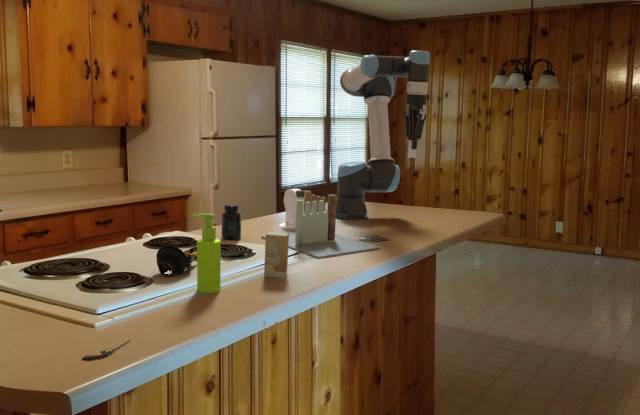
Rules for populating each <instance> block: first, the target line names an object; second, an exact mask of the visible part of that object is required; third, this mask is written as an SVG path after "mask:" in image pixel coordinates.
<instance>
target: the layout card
mask: <svg viewBox="0 0 640 415" xmlns="http://www.w3.org/2000/svg"><path fill="white" fill-rule="evenodd" d="M288 233H289V244H288V249H292V250H293V251H297V252H299V253H302V254H305V255H307V256H310V257H313V258H314V259H315V258H316V259H324V258H331V257H337V256H342V255H343V256H344V255H350V254H357V253H363V252H369V251H376V250H380V248H381V247H380V246H376V245H373V244H370V243H367V242H363V241H360V240H357V239H355V238H351V237H347V236H344V235H341V234H337V233H335V240H334V241H328V240H326V241H320V242H314V243H308V244H302V245H296V244H295V237H296V231H291V232H288ZM261 238H262V239H264V240H266V235H261Z"/></svg>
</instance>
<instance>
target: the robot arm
mask: <svg viewBox="0 0 640 415" xmlns="http://www.w3.org/2000/svg"><path fill="white" fill-rule="evenodd" d="M430 58H431V54H430V51H427V50H410V52H409V56H398V55H397V56H393V55H376V54H369V55H368V54H367V55H366V54H365V55H363V56H362V57H361V60H360V64H359V65H357V66H356V67H353V68H348V69H346V70H344V71H343V73H342V74H341V76H340V79H339V84H340V87H341V89H342V90H343V91H344V92H345V93H346V94H348V95H350V96H353V97H360V98H361V97H362V98H363V101H364V103H365V104H366V105H367V111H368V112H367V113H368V128H369V129H368V132H369V150H370V159H368V161H367V163H366V162H365V161H362V160H361V161H350V162H344V163H341V164H340V165H338V168H337V175H336V176H337V188H336V195H337V196H336V219H342V220H362V219H363V220H364V219H366V218H368V214H369V213H368V212H369V211H368V208H367V205H366V202H365V193H384V194H385V193H391V192H394V191H396V189H397V188H398V186H399V184H400V180H401V169H400V166H399V165H397V164H395V159H394V158H393V157H392V155H391V144H390V143H391V142H390V138H391V137H390V124H389V111H388V110H389V108H388V106H389V105H388V104H389V103H390V101H391V99H392V97H394V94H395V89H396V86H395V85H396V84H395V78H407V84H406V92H407V93H408V94H406V96H405V104H406V105H408V108H407V111H404V117H405V118H404V121H405V137H406V138H407V140H408V148H407V158H408V159H411V158H412V159H417V149H418V141H419V140H421V139H422V134H423V131H424V125H425V120H426V118H427V113H424V106H426V105H427V98H428V96H427V94H428V90H429V89H428V87H429V74H430V66H431V64H430V63H431V59H430ZM394 77H395V78H394Z"/></svg>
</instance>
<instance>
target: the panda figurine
mask: <svg viewBox="0 0 640 415" xmlns="http://www.w3.org/2000/svg"><path fill="white" fill-rule="evenodd" d="M304 191H307V190H305V189H301V188H295V187H294V186H285V187H284V196H283V205H284V208H285V209H284V210H285V220H284V222H282V223H280V224H278V227H279V228H281V229H286V230H296V200H304ZM303 214H304V206H303Z"/></svg>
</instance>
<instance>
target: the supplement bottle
mask: <svg viewBox="0 0 640 415" xmlns="http://www.w3.org/2000/svg"><path fill="white" fill-rule="evenodd" d="M223 208H224V209H223V210H224V212H222V213H221V239H223V240H226V241H236V240H240V239H241V238H242V214H241V212H239V205H238V204H237V203H225V204H224V206H223Z"/></svg>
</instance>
